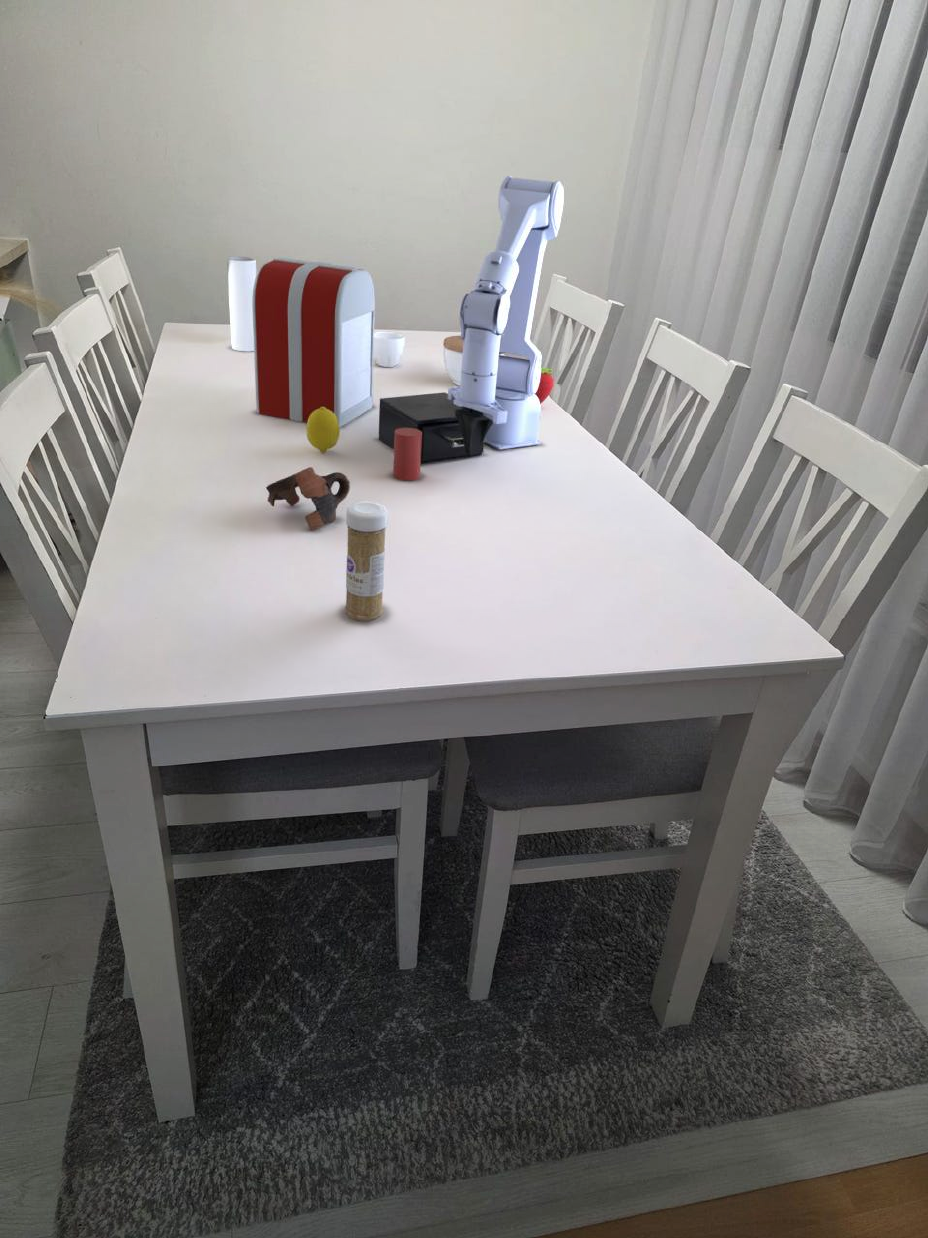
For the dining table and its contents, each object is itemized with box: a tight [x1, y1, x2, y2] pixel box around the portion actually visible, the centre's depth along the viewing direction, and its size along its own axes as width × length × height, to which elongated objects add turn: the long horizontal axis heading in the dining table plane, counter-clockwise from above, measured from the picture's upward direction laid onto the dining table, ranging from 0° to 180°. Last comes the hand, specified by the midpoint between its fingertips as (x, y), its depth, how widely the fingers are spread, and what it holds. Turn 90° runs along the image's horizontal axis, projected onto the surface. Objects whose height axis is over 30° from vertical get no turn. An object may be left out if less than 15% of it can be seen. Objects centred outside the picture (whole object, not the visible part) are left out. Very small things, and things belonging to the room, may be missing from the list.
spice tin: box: [392, 428, 422, 482], centre depth 144 cm, size 4×4×8 cm
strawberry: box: [535, 359, 556, 405], centre depth 184 cm, size 6×8×10 cm
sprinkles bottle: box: [344, 501, 388, 622], centre depth 102 cm, size 5×5×13 cm
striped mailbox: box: [252, 256, 376, 429], centre depth 166 cm, size 17×18×27 cm
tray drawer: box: [421, 421, 485, 461], centre depth 154 cm, size 17×12×6 cm
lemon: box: [306, 407, 340, 454], centre depth 150 cm, size 6×6×8 cm
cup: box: [373, 331, 406, 368], centre depth 205 cm, size 8×10×7 cm
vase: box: [226, 256, 258, 352], centre depth 207 cm, size 11×7×20 cm, turn 104°
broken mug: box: [265, 466, 351, 531], centre depth 128 cm, size 12×10×8 cm
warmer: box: [378, 391, 483, 465], centre depth 157 cm, size 14×14×8 cm
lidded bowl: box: [443, 335, 464, 387], centre depth 197 cm, size 13×13×11 cm
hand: (472, 453), depth 147 cm, fingers closed
